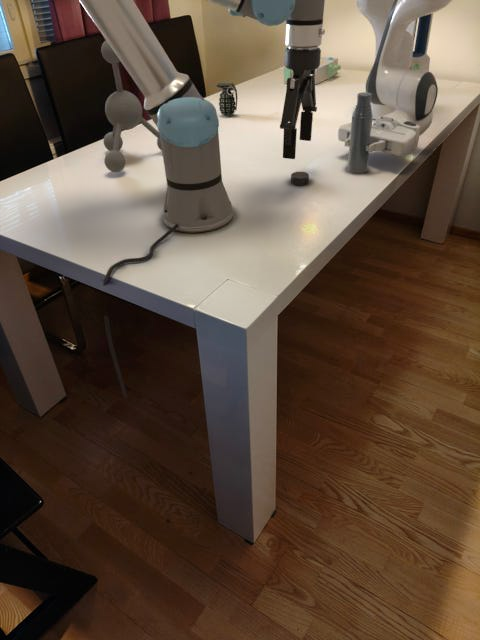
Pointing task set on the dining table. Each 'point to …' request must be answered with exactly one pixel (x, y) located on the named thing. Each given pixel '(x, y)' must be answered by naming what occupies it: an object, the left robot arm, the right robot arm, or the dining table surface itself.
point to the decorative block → (320, 70)
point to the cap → (299, 178)
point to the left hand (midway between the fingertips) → (297, 148)
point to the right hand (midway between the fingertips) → (357, 146)
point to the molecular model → (121, 115)
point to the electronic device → (421, 42)
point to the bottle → (360, 134)
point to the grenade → (227, 99)
